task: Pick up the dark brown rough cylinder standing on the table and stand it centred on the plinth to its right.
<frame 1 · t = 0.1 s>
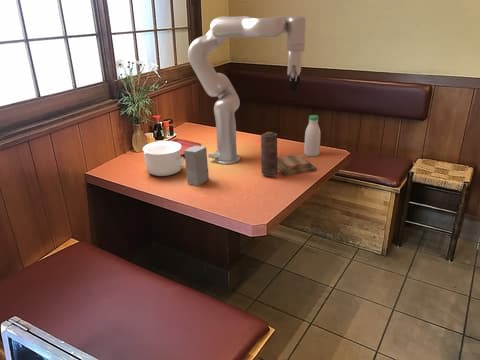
hand: (294, 87, 184), 37 cm above the table, tool pointing down, fingers open, 9 cm apart
skincare box: (198, 181, 185), on the table
milk bottle: (311, 154, 211), on the table
dark brown rough cylinder: (269, 175, 190), on the table
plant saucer: (179, 151, 221), on the table
pot: (164, 171, 197), on the table
plinth: (293, 166, 197), on the table
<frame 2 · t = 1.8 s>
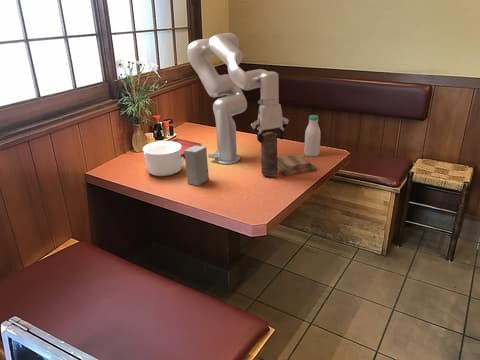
hand: (270, 140, 182), 17 cm above the table, tool pointing down, fingers open, 9 cm apart
nothing on the table moved.
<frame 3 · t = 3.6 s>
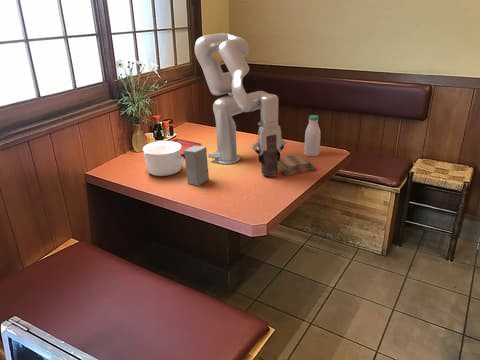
hand: (269, 161, 187), 7 cm above the table, tool pointing down, fingers closed on dark brown rough cylinder, 7 cm apart
dark brown rough cylinder: (269, 175, 190), on the table, touching gripper
everything else where it was.
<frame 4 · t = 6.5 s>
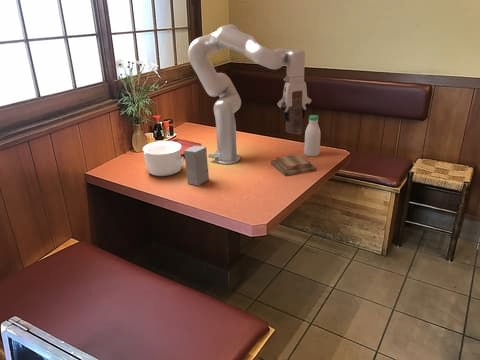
hand: (294, 118, 187), 24 cm above the table, tool pointing down, fingers closed on dark brown rough cylinder, 7 cm apart
dark brown rough cylinder: (293, 133, 190), point 17 cm above the table, touching gripper
everything else where it was.
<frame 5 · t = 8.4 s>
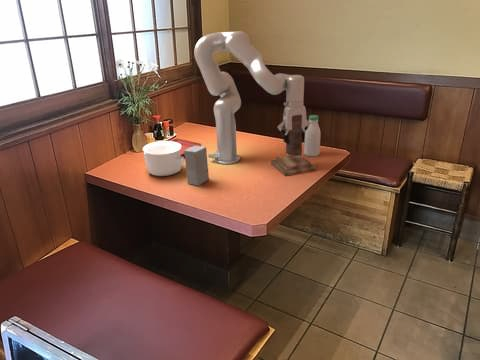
hand: (293, 141, 192), 13 cm above the table, tool pointing down, fingers closed on dark brown rough cylinder, 7 cm apart
dark brown rough cylinder: (293, 155, 194), point 6 cm above the table, touching gripper
everything else where it was.
when the fingers open (11 cm above the table, at t = 9.8 s): dark brown rough cylinder stays where it is, resting on plinth.
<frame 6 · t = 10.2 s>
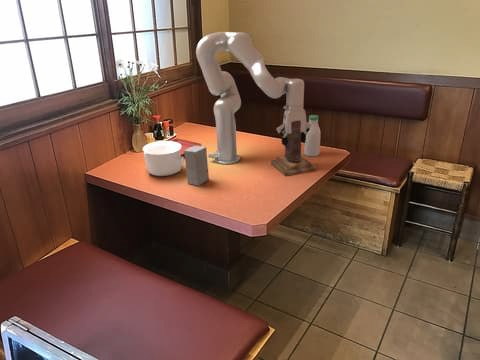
hand: (293, 143, 192), 12 cm above the table, tool pointing down, fingers open, 9 cm apart
dark brown rough cylinder: (292, 160, 196), point 3 cm above the table, touching plinth
everything else where it was.
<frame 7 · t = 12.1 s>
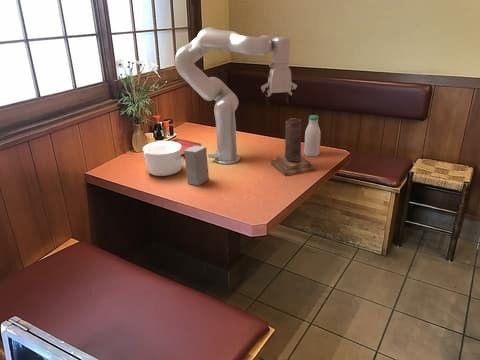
hand: (278, 104, 191), 29 cm above the table, tool pointing down, fingers open, 9 cm apart
nothing on the table moved.
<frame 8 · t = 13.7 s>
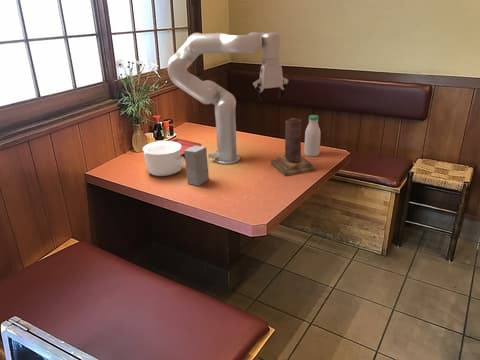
hand: (270, 99, 194), 30 cm above the table, tool pointing down, fingers open, 9 cm apart
nothing on the table moved.
at the end: dark brown rough cylinder inside the target area on the plinth (0.3 cm from its centre), point 3.3 cm above the plinth's base; dark brown rough cylinder tilted 0°; the gripper is holding nothing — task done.
